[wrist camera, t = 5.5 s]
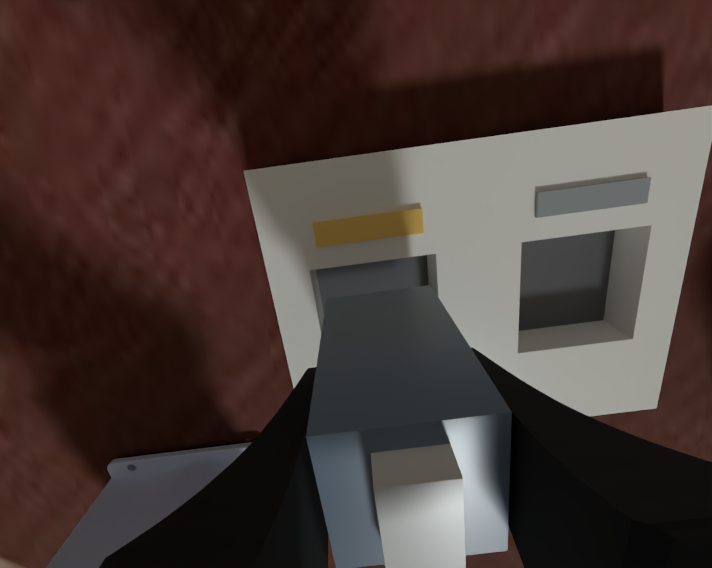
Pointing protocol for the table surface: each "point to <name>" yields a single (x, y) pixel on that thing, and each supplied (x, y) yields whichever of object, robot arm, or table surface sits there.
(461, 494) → the plug
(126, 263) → the table surface
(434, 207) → the socket panel
